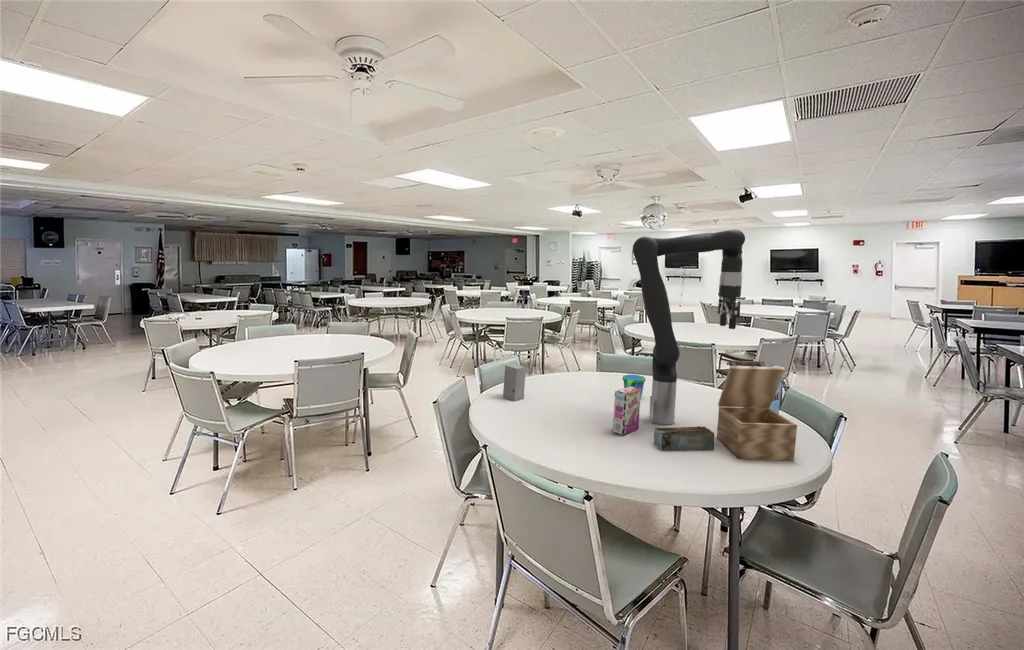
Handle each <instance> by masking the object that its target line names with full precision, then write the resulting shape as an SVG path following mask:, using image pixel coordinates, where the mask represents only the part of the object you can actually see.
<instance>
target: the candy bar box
mask: <svg viewBox="0 0 1024 650" xmlns="http://www.w3.org/2000/svg"><path fill="white" fill-rule="evenodd" d="M640 397H641V398H642V395H641V389H640V388H636V387H631V386H630V387H627V388H624V387H623V388H620V389H616V390H615V391H614V407H613V423H612V424H613V425H612V433H613V434H617V435H619V436H622V437H624V436H625V435H628V434H630V433H633V432H635V431H637V430H639V428H640V427H639V426H640V425H639V424H640V408H641V398H640Z"/></svg>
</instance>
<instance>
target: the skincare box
mask: <svg viewBox="0 0 1024 650" xmlns="http://www.w3.org/2000/svg"><path fill="white" fill-rule="evenodd" d="M526 370H527V367H525V366H522V365H520V364H516V363H512V364H505V365H504V377H503V393H502V398H504V399H506V398H507V400H510V401H513V402H515V401H516V400H517V401H521V400H520V399H522V400H524V398H525V385H526V373H527V371H526ZM517 401H516V402H517Z"/></svg>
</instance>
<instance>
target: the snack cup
mask: <svg viewBox="0 0 1024 650" xmlns="http://www.w3.org/2000/svg"><path fill="white" fill-rule="evenodd" d="M622 382H623V389H624V388H627V387H630V386H631V387H636V388H640V389H641V397H640V399H641V398H642V396H643V390H644V385H645V382H646V377H645V376H643V375H639V374H624V375H623V376H622Z"/></svg>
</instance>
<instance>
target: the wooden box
mask: <svg viewBox="0 0 1024 650" xmlns="http://www.w3.org/2000/svg"><path fill="white" fill-rule="evenodd" d="M716 429H717V431H716V440H718V442H720V443H721V445H723V446H724V447H725V448H726V449H727V451H729V452H730V453H731V454H732V455H733V456H734V457H735V458H736V459H739V460H766V461H767V460H768V461H789V460H794V461H795V454H796V453H795V452H796V444H797V433H798V432H797V430H798V425H797V424H796V423H794V422H793V421H791V420H790V419H788V418H786V417H784V416H783V415H781V414H780V413H779V414H778V413H776V412H775V411H773V410H771V409H770V408H743V407H719V406H718V416H717V428H716Z"/></svg>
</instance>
